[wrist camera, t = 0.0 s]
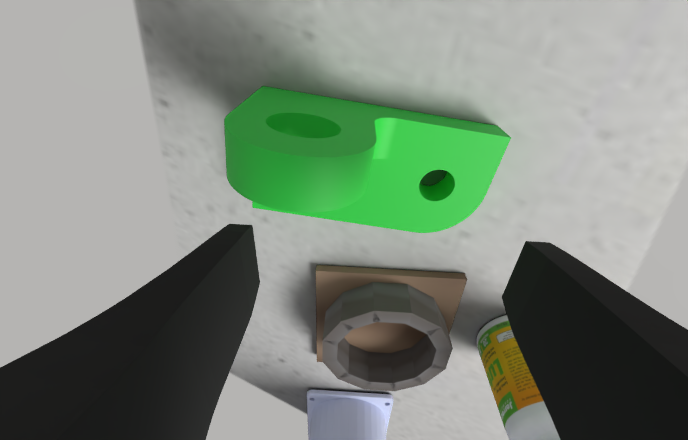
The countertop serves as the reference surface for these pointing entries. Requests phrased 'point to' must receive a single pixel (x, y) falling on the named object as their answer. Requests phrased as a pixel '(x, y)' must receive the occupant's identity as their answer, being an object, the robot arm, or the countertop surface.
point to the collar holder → (385, 324)
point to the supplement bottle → (513, 384)
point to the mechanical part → (358, 160)
